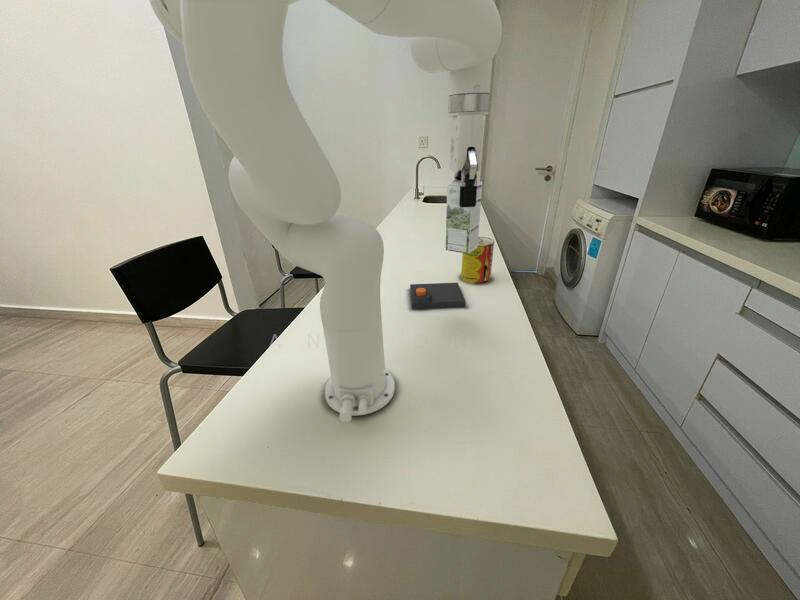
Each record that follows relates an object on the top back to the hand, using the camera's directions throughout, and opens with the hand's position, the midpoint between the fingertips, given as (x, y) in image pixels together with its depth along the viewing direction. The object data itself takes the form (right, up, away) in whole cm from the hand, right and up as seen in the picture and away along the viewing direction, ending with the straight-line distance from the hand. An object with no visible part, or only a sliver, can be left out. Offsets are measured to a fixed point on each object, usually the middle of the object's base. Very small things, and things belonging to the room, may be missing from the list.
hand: (463, 202), depth 70 cm
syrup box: (0, -9, +5) cm, 11 cm away
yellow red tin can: (+10, -14, +34) cm, 38 cm away
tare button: (-8, -19, +17) cm, 27 cm away
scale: (-3, -20, +22) cm, 30 cm away
